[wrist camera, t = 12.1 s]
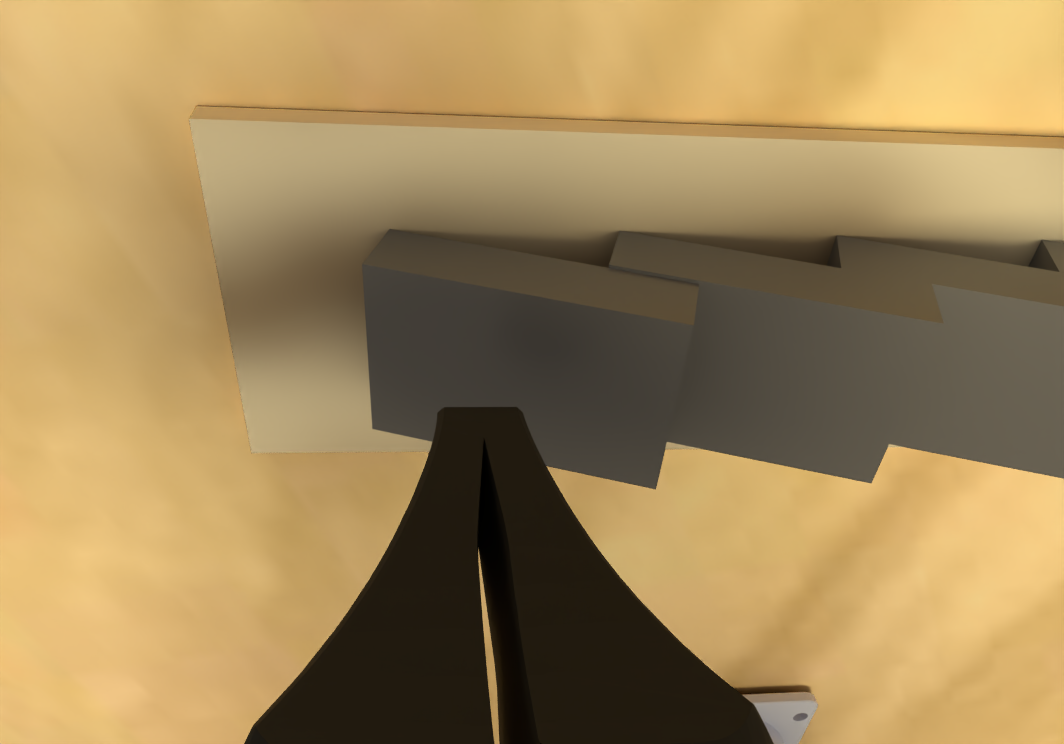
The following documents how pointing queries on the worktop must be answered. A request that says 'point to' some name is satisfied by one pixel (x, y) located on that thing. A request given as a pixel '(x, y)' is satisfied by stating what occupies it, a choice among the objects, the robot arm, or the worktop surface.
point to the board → (553, 219)
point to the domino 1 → (528, 349)
